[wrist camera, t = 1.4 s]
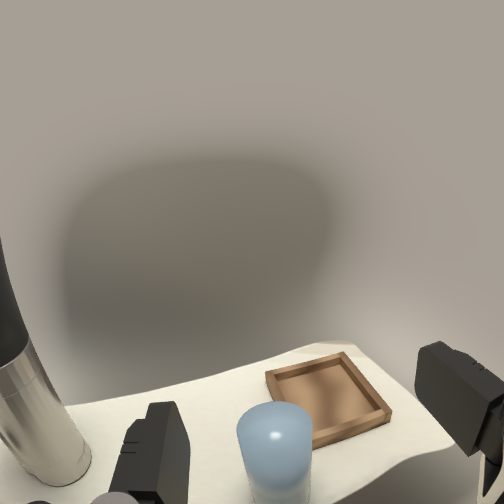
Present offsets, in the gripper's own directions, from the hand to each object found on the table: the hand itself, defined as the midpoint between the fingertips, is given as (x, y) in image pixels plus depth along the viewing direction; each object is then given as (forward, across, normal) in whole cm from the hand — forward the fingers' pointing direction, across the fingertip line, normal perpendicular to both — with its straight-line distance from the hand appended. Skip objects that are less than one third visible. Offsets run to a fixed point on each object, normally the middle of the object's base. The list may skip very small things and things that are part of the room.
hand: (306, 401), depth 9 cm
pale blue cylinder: (+11, +1, +22) cm, 25 cm away
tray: (+24, -7, +21) cm, 33 cm away
